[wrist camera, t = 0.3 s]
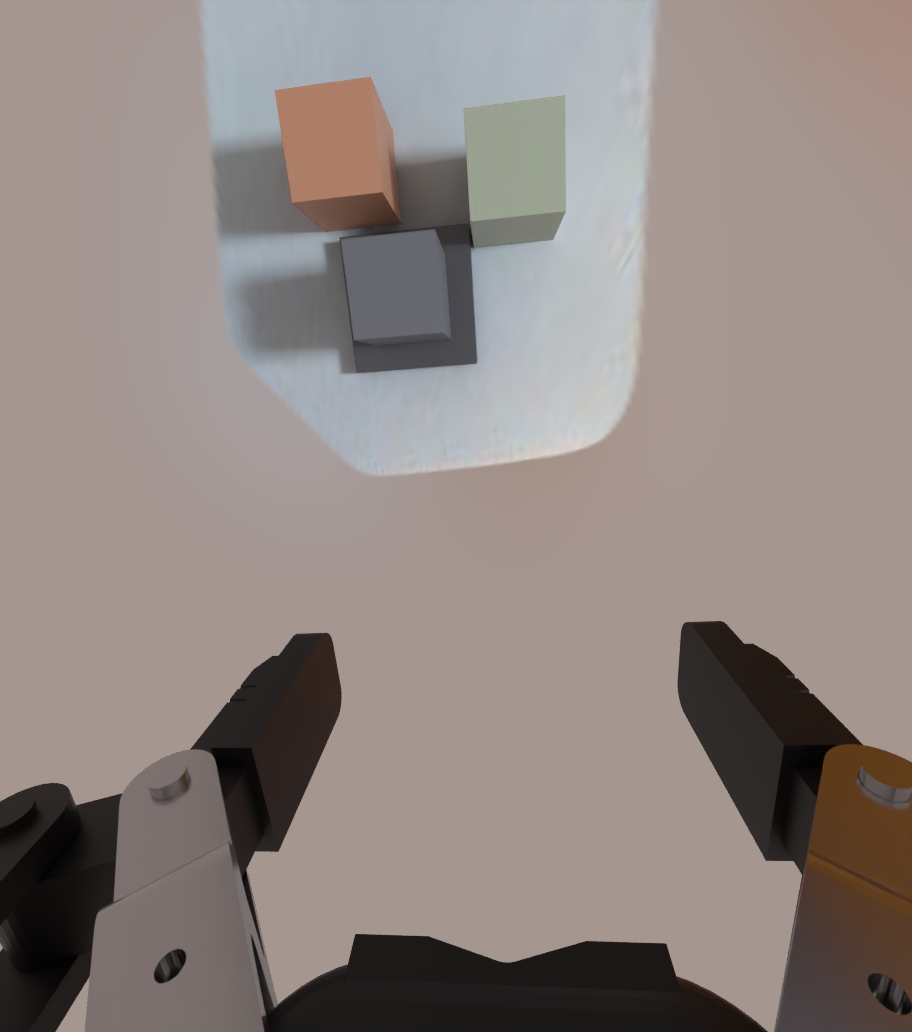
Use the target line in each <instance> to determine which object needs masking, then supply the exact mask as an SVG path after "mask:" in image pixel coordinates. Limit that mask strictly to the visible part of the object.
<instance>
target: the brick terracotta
mask: <svg viewBox="0 0 912 1032" xmlns="http://www.w3.org/2000/svg"><path fill="white" fill-rule="evenodd" d="M275 95H276V101H277V108H278V115H279V121H280V128H281V134H282V141H283V148H284V154H285V161H286V168H287V174H288V181H289V187H290V194H291V201H292V203H293V204H294V205H295V206H296V207H297V208H299V209H300V210H301V211H302V212H303V213H304V214H306V215H307V216H308V217H309V218H310V219H311V220H313V221H314V222H315V223H316V224H317V225H318V226H320V227H321V228H322V229H323V230H324V231H325V232H328V231H337V230H346V229H355V228H364V227H374V226H383V225H392V224H401V214H400V204H399V193H398V183H397V172H396V161H395V151H394V140H393V130H392V128H391V125H390V123H389V121H388V118H387V116H386V113H385V111H384V108H383V106H382V103H381V101H380V98H379V96H378V94H377V91H376V89H375V86H374V84H373V81H372V79H371V77H367V78H360V79H353V80H346V81H339V82H331V83H324V84H317V85H310V86H303V87H295V88H288V89H281V90H275Z"/></svg>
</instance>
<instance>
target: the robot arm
mask: <svg viewBox="0 0 912 1032" xmlns="http://www.w3.org/2000/svg"><path fill="white" fill-rule="evenodd" d="M678 693H679V699H680V703H681V706H682V709H683V712H684V713H685V715H686V717H687V719H688V721H689V723H690V724H691V726H692V728H693V730H694V732H695V733H696V735H697V737H698V739H699V740H700V742H701V744H702V746H703V748H704V750H705V751H706V753H707V755H708V757H709V759H710V760H711V762H712V764H713V765H714V768H715V769H716V771H717V773H718V775H719V777H720V778H721V780H722V782H723V784H724V786H725V787H726V789H727V791H728V793H729V795H730V797H731V798H732V800H733V802H734V803H735V806H736V807H737V809H738V811H739V813H740V815H741V816H742V818H743V820H744V822H745V823H746V825H747V827H748V829H749V831H750V833H751V834H752V836H753V838H754V840H755V842H756V843H757V845H758V847H759V849H760V851H761V852H762V854H763V856H764V858H765V860H766V861H794V862H795V864H796V865H797V867H798V869H799V870H800V872H801V874H802V880H801V885H800V890H799V895H798V901H797V907H796V912H795V918H794V923H793V929H792V935H791V941H790V947H789V951H788V957H787V963H786V969H785V974H784V980H783V985H782V990H781V996H780V1002H779V1007H778V1013H777V1018H776V1024H775V1029H774V1032H912V762H910V761H908V760H906V759H904V758H902V757H900V756H897V755H895V754H892V753H890V752H887V751H884V750H881V749H878V748H874V747H870V746H865V745H863V744H862V743H861V742H860V741H859V740H858V739H857V738H856V737H855V736H854V735H853V734H852V733H851V732H850V731H849V730H848V729H847V728H846V727H845V726H844V725H843V724H842V723H841V722H840V721H839V720H838V719H837V718H836V717H835V716H834V715H833V714H832V713H831V712H830V711H829V710H828V709H827V708H826V707H825V706H824V705H823V704H822V703H821V702H820V701H819V700H818V699H817V698H816V697H815V695H814V694H810V693H809V689H808V688H807V687H806V686H805V685H804V684H803V683H802V682H801V681H800V680H799V679H795V676H794V674H793V673H792V672H791V671H790V670H789V669H788V668H787V667H786V666H785V665H784V664H783V663H782V662H781V661H780V660H779V659H778V658H777V657H775V656H773V655H772V654H770V653H768V652H766V651H765V650H763V649H761V648H759V647H758V646H756V645H754V644H744V643H743V642H742V641H741V640H740V639H739V638H738V637H737V635H736V634H735V633H734V632H733V631H732V630H731V629H730V628H729V627H728V626H727V625H726V624H725V623H724V622H722V621H713V622H711V621H710V622H686V623H684V624H683V627H682V630H681V641H680V655H679V670H678ZM340 707H341V685H340V680H339V674H338V670H337V663H336V658H335V653H334V647H333V642H332V638H331V636H330V635H329V634H328V633H311V634H310V633H309V634H296V635H294V636H293V637H292V639H291V640H290V641H289V643H288V644H287V645H286V647H285V648H284V650H283V651H282V652H281V653H280V655H279V656H272V657H270V658H269V659H268V660H266V661H265V662H264V663H262V664H261V665H259V666H258V667H257V668H255V669H254V670H253V671H252V672H251V673H250V675H249V676H248V677H247V678H246V680H245V681H244V682H243V683H242V685H241V688H240V689H238V690H237V691H236V692H235V694H234V695H233V696H232V697H231V699H230V703H227V704H226V705H225V706H224V707H223V709H222V710H221V711H220V712H219V714H218V715H217V716H216V718H215V719H214V720H213V721H212V723H211V724H210V725H209V726H208V728H207V729H206V730H205V731H204V733H203V734H202V735H201V737H200V738H199V739H198V740H197V742H196V743H195V744H194V746H193V747H192V748H191V749H190V750H186V751H181V752H177V753H174V754H171V755H169V756H166V757H164V758H162V759H160V760H158V761H157V762H155V763H153V764H151V765H150V766H148V767H147V768H145V769H144V770H143V771H142V772H140V773H139V774H138V775H137V776H136V777H135V778H134V779H133V780H132V781H131V782H130V784H129V785H128V786H127V787H126V789H125V790H124V792H123V793H122V794H118V795H115V796H111V797H107V798H103V799H99V800H95V801H92V802H87V803H84V804H80V805H75V802H74V800H73V797H72V795H71V793H70V790H69V789H68V787H67V786H65V785H63V784H59V783H49V784H42V785H38V786H34V787H31V788H28V789H25V790H23V791H21V792H18V793H16V794H14V795H12V796H10V797H8V798H6V799H4V800H2V801H1V802H0V943H1V945H2V947H3V949H2V950H1V952H0V1032H55V1031H56V1030H57V1028H58V1026H59V1025H60V1023H61V1021H62V1020H63V1018H64V1017H65V1015H66V1014H67V1012H68V1010H69V1009H70V1007H71V1006H72V1004H73V1002H74V1001H75V999H76V997H77V996H78V994H79V993H80V991H81V989H82V988H83V986H84V984H85V983H86V981H87V980H88V978H89V976H90V981H89V991H88V1002H87V1013H86V1024H85V1032H767V1031H766V1030H765V1029H764V1028H763V1027H761V1025H759V1024H758V1023H757V1022H756V1021H754V1020H753V1019H752V1018H751V1017H749V1016H748V1015H746V1014H745V1013H744V1012H742V1011H741V1010H739V1009H738V1008H737V1007H736V1006H734V1005H733V1004H731V1003H729V1002H728V1001H726V1000H725V999H723V998H721V997H720V996H718V995H716V994H715V993H713V992H711V991H709V990H707V989H705V988H703V987H701V986H699V985H697V984H695V983H693V982H691V981H688V980H685V979H682V978H680V977H677V976H676V974H675V971H674V968H673V964H672V961H671V958H670V955H669V951H668V948H667V945H666V944H663V943H628V942H597V941H585V942H582V943H578V944H575V945H571V946H568V947H564V948H561V949H557V950H554V951H550V952H547V953H544V954H540V955H537V956H533V957H530V958H526V959H523V960H520V961H516V962H511V963H503V962H499V961H496V960H493V959H490V958H488V957H485V956H482V955H479V954H476V953H473V952H471V951H468V950H465V949H462V948H460V947H457V946H454V945H451V944H448V943H446V942H443V941H440V940H437V939H434V938H431V937H429V936H401V935H400V936H399V935H368V934H366V935H365V934H355V938H354V942H353V946H352V950H351V954H350V959H349V963H348V965H345V966H342V967H338V968H336V969H334V970H332V971H329V972H327V973H325V974H322V975H320V976H318V977H317V978H315V979H313V980H312V981H310V982H308V983H307V984H305V985H303V986H301V987H300V988H299V989H297V990H296V991H295V992H293V993H292V994H291V995H289V996H288V997H287V998H285V999H284V1000H283V1001H282V1002H280V1003H279V1004H278V1002H277V999H276V995H275V991H274V987H273V983H272V978H271V974H270V970H269V965H268V961H267V956H266V952H265V947H264V943H263V938H262V934H261V929H260V924H259V920H258V915H257V911H256V906H255V902H254V897H253V893H252V888H251V884H250V879H249V875H248V872H247V867H248V865H249V863H250V861H251V858H252V856H253V854H254V852H255V851H273V852H278V851H279V849H280V847H281V845H282V842H283V840H284V838H285V835H286V833H287V831H288V829H289V827H290V824H291V822H292V820H293V817H294V815H295V813H296V810H297V808H298V806H299V804H300V802H301V799H302V797H303V795H304V793H305V790H306V788H307V786H308V783H309V781H310V779H311V777H312V775H313V772H314V770H315V768H316V766H317V763H318V761H319V759H320V756H321V754H322V752H323V750H324V748H325V745H326V743H327V740H328V738H329V736H330V734H331V732H332V729H333V727H334V725H335V723H336V720H337V718H338V716H339V712H340Z"/></svg>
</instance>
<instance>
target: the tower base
mask: <svg viewBox="0 0 912 1032" xmlns="http://www.w3.org/2000/svg"><path fill="white" fill-rule="evenodd" d="M340 245H341V253H342V260H343V268H344V276H345V284H346V292H347V299H348V307H349V315H350V323H351V331H352V339H353V346H354V354H355V362H356V370H357V373H362V372H375V371H387V370H400V369H412V368H425V367H437V366H450V365H462V364H475V363H477V351H476V333H475V316H474V299H473V282H472V265H471V248H470V231H469V224H461V225H452V226H442V227H433V228H424V229H415V230H405V231H396V232H387V233H378V234H368V235H359V236H350V237H340Z"/></svg>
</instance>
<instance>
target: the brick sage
mask: <svg viewBox="0 0 912 1032" xmlns="http://www.w3.org/2000/svg"><path fill="white" fill-rule="evenodd" d="M464 123H465V140H466V157H467V175H468V192H469V209H470V224H471V230H472V237H473V244H474V248H478V247H488V246H498V245H507V244H517V243H527V242H537V241H546V240H553V239H554V237H555V234H556V232H557V230H558V228H559V225H560V223H561V221H562V219H563V216H564V214H565V212H566V176H565V95H564V96H557V97H549V98H541V99H534V100H526V101H518V102H511V103H503V104H495V105H488V106H480V107H472V108H465V109H464Z"/></svg>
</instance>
